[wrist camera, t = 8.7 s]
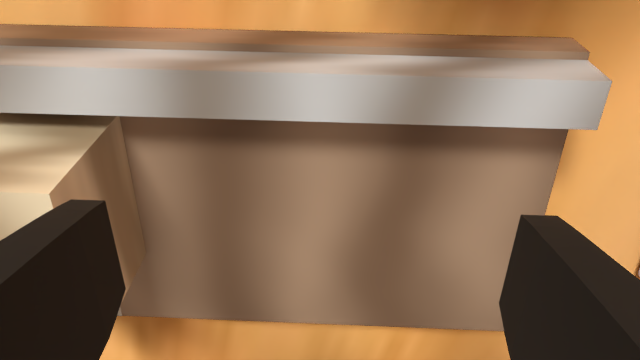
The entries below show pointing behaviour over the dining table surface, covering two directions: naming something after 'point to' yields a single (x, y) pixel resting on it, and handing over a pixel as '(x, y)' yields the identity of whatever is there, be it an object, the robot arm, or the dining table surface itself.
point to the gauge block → (69, 175)
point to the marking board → (319, 161)
